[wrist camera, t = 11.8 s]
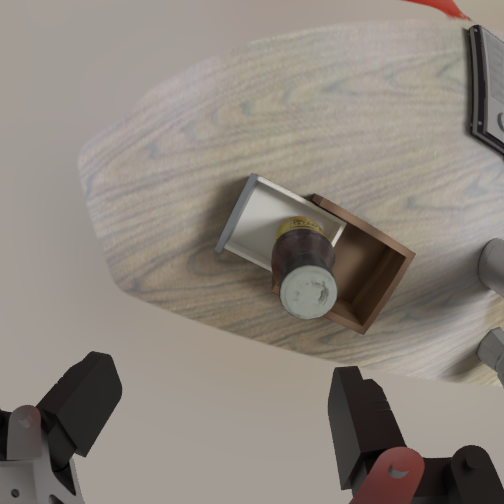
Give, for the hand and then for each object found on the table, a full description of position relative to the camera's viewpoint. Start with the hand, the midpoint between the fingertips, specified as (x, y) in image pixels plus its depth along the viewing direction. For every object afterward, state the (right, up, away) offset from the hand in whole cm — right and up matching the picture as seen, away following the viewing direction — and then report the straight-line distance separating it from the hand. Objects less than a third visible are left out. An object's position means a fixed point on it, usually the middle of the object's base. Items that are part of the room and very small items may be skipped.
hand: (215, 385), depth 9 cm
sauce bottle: (+7, +7, +29) cm, 31 cm away
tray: (+5, +8, +29) cm, 31 cm away
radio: (+49, +33, +20) cm, 63 cm away
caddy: (+13, +4, +31) cm, 34 cm away
